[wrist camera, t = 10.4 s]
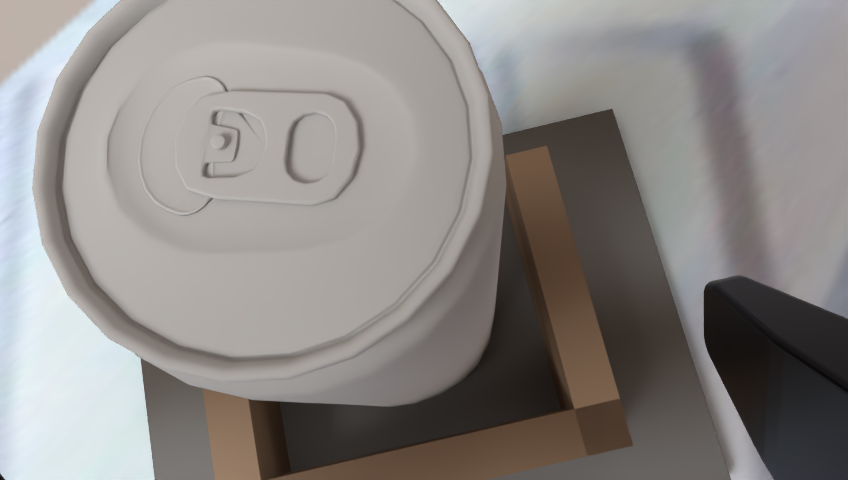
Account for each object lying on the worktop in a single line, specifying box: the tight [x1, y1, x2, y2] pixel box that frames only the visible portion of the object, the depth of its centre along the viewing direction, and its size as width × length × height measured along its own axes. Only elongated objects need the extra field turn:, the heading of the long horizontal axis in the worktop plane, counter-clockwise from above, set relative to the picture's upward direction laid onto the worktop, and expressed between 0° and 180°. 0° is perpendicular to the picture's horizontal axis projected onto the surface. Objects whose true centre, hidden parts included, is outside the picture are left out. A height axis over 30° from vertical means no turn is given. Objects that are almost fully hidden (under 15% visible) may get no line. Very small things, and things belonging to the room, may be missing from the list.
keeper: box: [141, 109, 731, 480], centre depth 17 cm, size 10×14×3 cm
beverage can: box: [32, 0, 506, 407], centre depth 12 cm, size 5×5×12 cm
